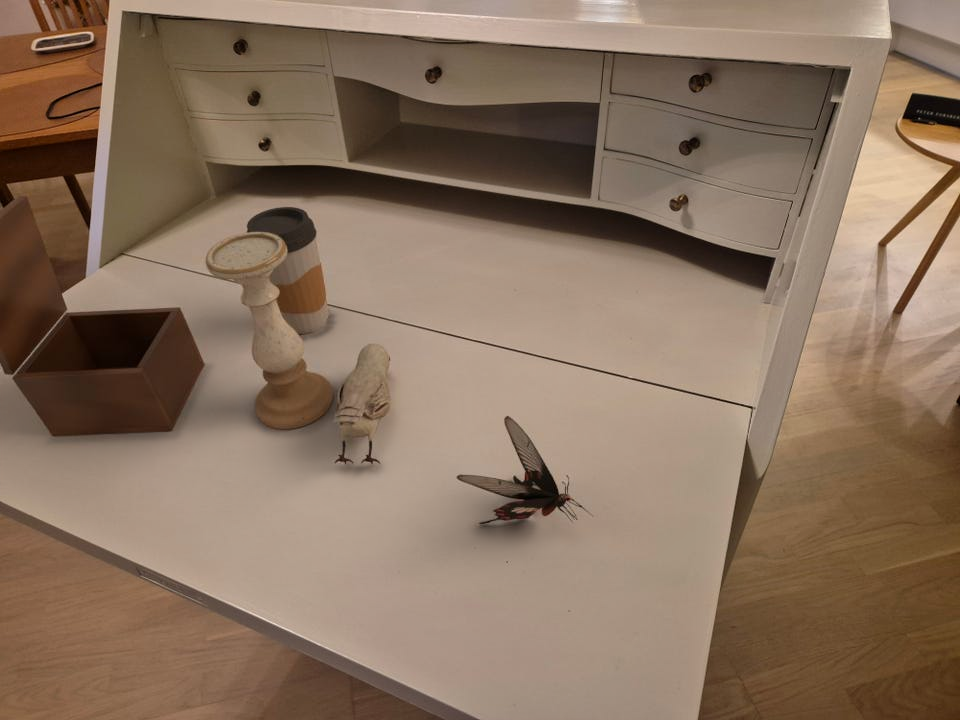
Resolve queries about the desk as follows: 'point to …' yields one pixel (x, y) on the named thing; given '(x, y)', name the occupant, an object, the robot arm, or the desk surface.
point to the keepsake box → (112, 372)
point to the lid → (24, 286)
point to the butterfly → (524, 482)
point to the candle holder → (271, 331)
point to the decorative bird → (364, 397)
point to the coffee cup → (296, 268)
